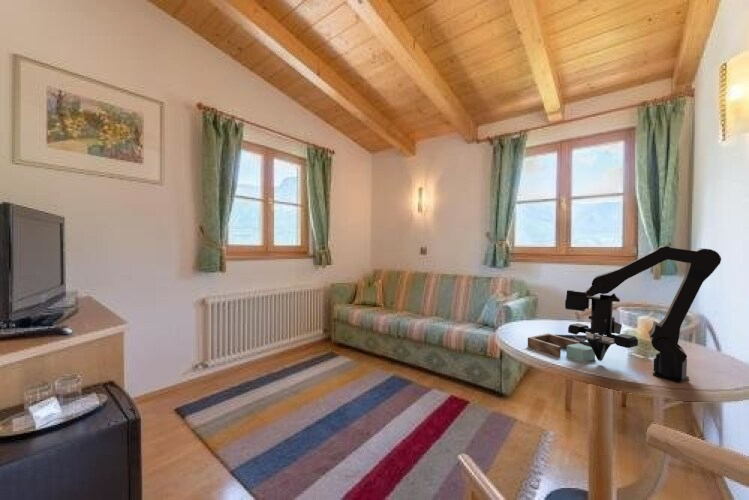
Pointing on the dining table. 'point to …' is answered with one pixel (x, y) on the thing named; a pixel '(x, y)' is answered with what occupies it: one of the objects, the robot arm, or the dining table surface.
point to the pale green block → (580, 352)
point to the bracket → (577, 338)
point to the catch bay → (550, 343)
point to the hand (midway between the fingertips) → (599, 360)
